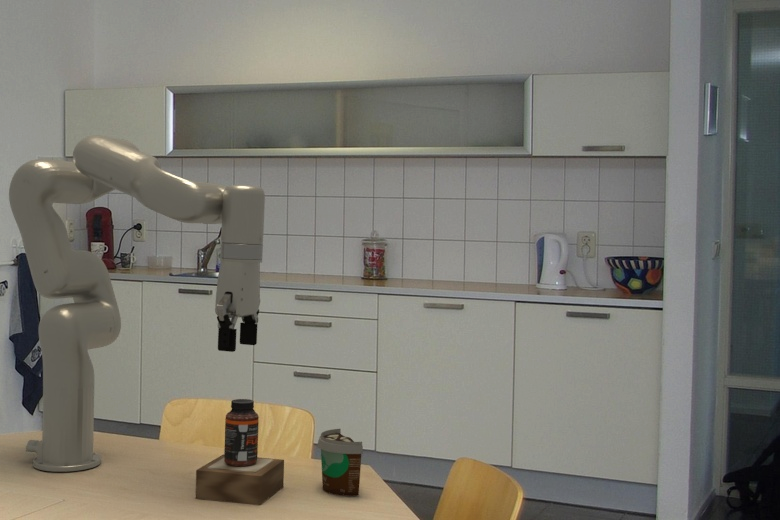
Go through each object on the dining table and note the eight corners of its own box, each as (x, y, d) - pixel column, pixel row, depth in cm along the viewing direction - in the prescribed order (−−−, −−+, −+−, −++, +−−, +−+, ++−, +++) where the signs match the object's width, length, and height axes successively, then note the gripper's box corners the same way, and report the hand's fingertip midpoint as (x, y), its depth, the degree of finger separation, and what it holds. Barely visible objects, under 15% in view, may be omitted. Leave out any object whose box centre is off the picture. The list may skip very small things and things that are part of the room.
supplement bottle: (250, 468, 165) (252, 404, 164) (218, 465, 166) (220, 402, 165) (262, 460, 170) (263, 398, 170) (231, 457, 172) (232, 396, 171)
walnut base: (195, 498, 164) (196, 468, 163) (222, 480, 175) (223, 453, 175) (260, 504, 161) (261, 474, 161) (283, 486, 173) (284, 458, 173)
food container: (307, 482, 176) (308, 429, 176) (337, 479, 178) (339, 427, 178) (329, 500, 165) (330, 444, 164) (361, 497, 167) (363, 442, 167)
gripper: (241, 251, 178) (237, 340, 179) (201, 253, 162) (197, 352, 162) (278, 253, 177) (274, 343, 177) (242, 255, 160) (237, 355, 160)
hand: (237, 347), depth 170 cm, fingers open, 9 cm apart
